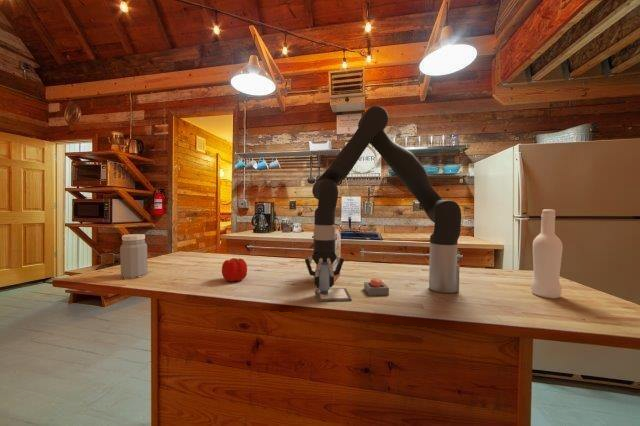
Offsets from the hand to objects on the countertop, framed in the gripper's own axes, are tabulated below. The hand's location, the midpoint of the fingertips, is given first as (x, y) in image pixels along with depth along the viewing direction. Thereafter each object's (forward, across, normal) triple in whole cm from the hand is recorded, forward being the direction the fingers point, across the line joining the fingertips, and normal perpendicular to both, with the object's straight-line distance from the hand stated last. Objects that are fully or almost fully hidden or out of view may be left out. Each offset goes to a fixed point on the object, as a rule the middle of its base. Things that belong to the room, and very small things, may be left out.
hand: (324, 286), depth 90 cm
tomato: (+3, +36, -20) cm, 41 cm away
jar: (+4, +80, -29) cm, 86 cm away
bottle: (+3, -78, +5) cm, 78 cm away
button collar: (+3, -19, -2) cm, 19 cm away
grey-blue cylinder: (+2, 0, 0) cm, 2 cm away
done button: (+1, -19, -2) cm, 19 cm away
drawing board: (+3, -3, +1) cm, 4 cm away
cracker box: (+3, -4, -19) cm, 20 cm away
